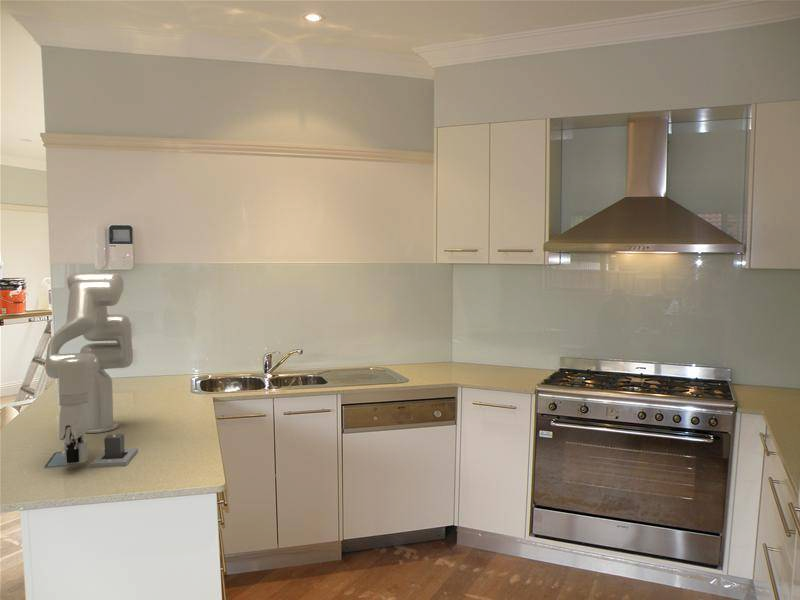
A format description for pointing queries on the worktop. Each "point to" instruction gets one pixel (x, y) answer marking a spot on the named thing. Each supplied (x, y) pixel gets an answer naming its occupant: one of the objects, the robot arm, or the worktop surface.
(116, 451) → the block
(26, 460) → the worktop surface
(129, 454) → the outlet plate
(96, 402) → the robot arm
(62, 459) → the smartphone
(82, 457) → the cable plug
